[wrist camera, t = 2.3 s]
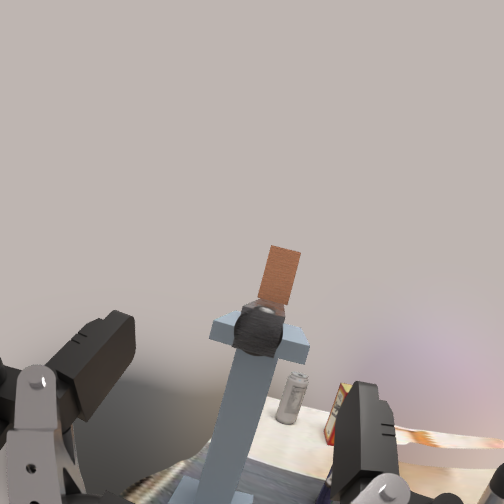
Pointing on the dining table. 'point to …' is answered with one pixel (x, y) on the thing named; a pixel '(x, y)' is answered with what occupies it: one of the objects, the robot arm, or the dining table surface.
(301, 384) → the energy drink can
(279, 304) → the hammer
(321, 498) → the flask
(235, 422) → the shelf stand
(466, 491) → the dining table surface
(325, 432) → the baking soda box
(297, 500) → the dining table surface
